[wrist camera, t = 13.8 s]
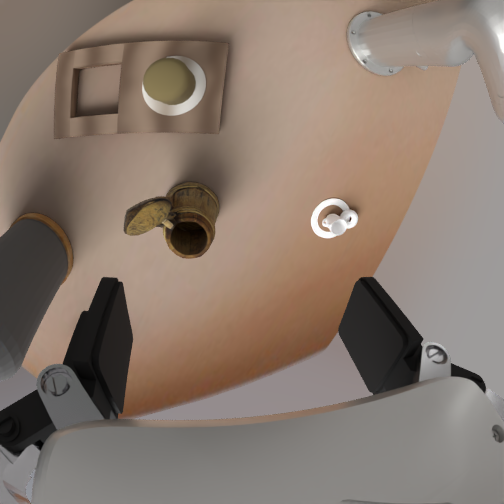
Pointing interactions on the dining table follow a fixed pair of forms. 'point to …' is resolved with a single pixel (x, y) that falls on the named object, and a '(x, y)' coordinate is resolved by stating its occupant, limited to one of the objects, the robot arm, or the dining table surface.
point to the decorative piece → (28, 283)
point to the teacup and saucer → (334, 219)
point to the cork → (169, 81)
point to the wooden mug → (178, 218)
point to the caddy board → (132, 90)
